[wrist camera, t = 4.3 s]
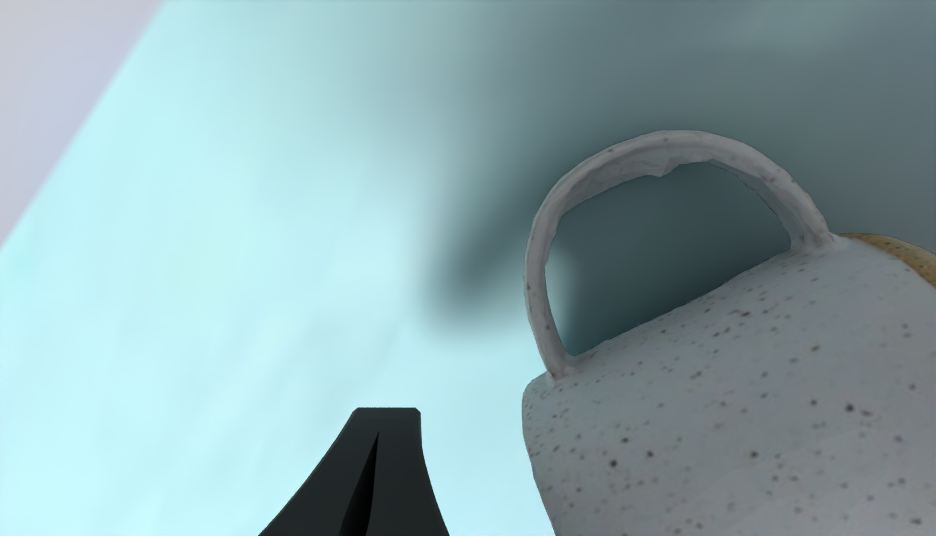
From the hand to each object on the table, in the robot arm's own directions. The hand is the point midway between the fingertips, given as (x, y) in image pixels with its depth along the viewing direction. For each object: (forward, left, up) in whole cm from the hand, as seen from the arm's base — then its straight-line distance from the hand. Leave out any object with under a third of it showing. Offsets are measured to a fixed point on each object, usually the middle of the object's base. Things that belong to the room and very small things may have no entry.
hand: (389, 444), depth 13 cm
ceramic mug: (+1, -7, -3) cm, 8 cm away
